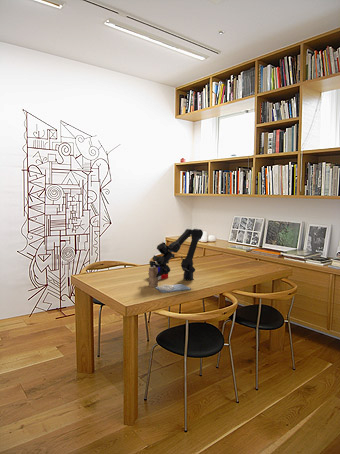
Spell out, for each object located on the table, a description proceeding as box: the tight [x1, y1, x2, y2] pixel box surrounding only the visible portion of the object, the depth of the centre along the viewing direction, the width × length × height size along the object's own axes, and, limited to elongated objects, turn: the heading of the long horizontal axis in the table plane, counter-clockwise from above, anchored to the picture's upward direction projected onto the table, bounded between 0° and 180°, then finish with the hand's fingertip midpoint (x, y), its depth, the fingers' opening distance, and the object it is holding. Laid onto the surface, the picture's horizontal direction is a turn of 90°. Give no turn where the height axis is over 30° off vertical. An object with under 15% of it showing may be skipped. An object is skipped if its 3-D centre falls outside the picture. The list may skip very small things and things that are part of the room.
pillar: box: [148, 266, 159, 288], centre depth 232 cm, size 4×4×13 cm
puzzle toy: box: [158, 267, 169, 281], centre depth 257 cm, size 10×10×10 cm
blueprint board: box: [154, 283, 192, 294], centre depth 227 cm, size 21×12×2 cm, turn 117°
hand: (152, 275), depth 232 cm, fingers open, 9 cm apart
